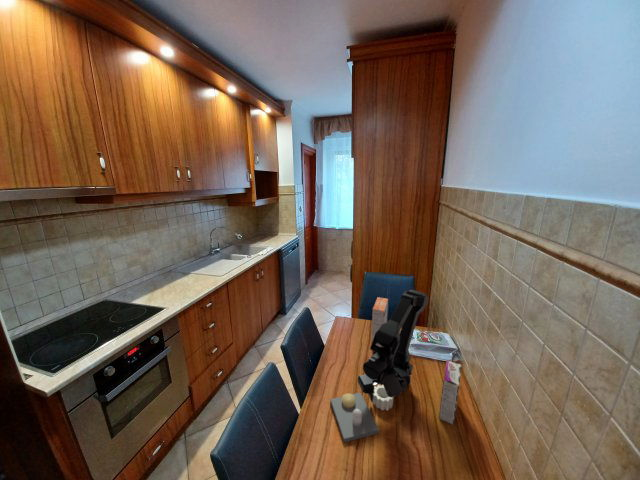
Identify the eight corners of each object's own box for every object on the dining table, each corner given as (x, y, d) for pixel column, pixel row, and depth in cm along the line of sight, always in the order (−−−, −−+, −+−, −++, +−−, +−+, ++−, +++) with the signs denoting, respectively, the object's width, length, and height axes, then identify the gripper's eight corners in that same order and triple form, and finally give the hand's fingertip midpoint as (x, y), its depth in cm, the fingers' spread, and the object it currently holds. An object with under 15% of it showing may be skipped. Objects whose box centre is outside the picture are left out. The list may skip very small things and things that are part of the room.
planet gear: (386, 391, 97) (387, 382, 96) (396, 408, 90) (397, 398, 89) (368, 395, 95) (369, 386, 94) (378, 412, 88) (378, 403, 87)
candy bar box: (441, 395, 95) (446, 359, 91) (456, 401, 92) (462, 364, 89) (437, 418, 86) (443, 379, 82) (453, 426, 83) (460, 385, 79)
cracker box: (375, 331, 136) (377, 296, 131) (386, 333, 134) (388, 298, 129) (370, 346, 123) (372, 308, 118) (382, 349, 121) (384, 311, 116)
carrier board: (360, 395, 95) (360, 381, 94) (378, 433, 81) (379, 417, 79) (330, 402, 92) (330, 387, 91) (344, 442, 78) (344, 426, 77)
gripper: (371, 385, 79) (369, 424, 82) (422, 374, 83) (417, 411, 87) (357, 361, 89) (356, 396, 93) (403, 352, 94) (400, 386, 97)
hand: (382, 398), depth 92 cm, fingers open, 9 cm apart
